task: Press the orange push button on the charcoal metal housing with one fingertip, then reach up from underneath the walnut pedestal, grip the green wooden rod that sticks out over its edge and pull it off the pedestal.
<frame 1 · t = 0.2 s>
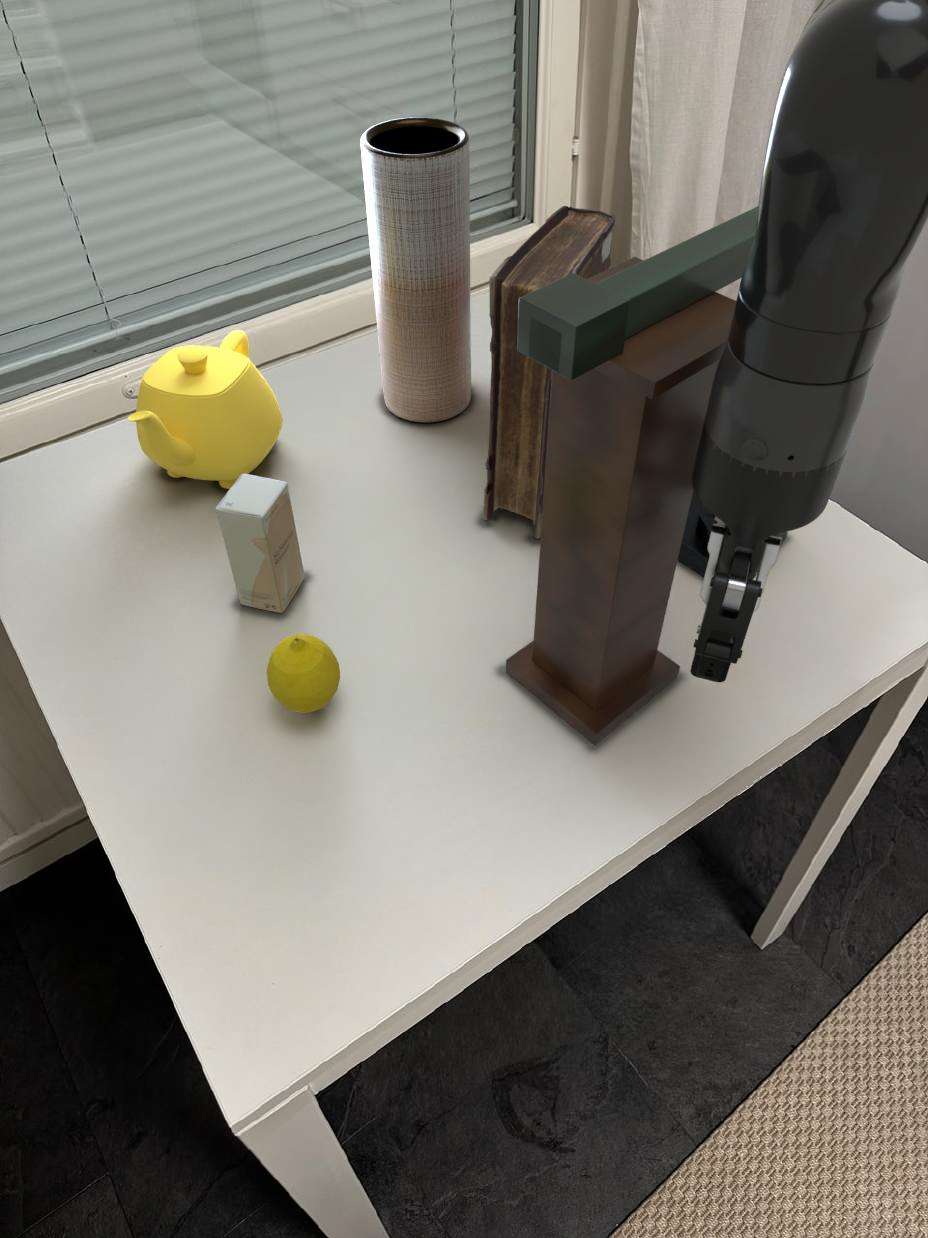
hand: (717, 628, 59), 13 cm above the table, tool pointing down, fingers open, 8 cm apart
book: (546, 486, 91), on the table
fruit: (311, 706, 72), on the table
vase: (427, 400, 101), on the table
teapot: (216, 464, 94), on the table
box: (273, 591, 81), on the table
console: (702, 530, 85), on the table
button: (742, 512, 80), point 4 cm above the table, slide at 0.1 cm
pedestal: (591, 674, 73), on the table
rod: (689, 289, 52), point 32 cm above the table, touching pedestal
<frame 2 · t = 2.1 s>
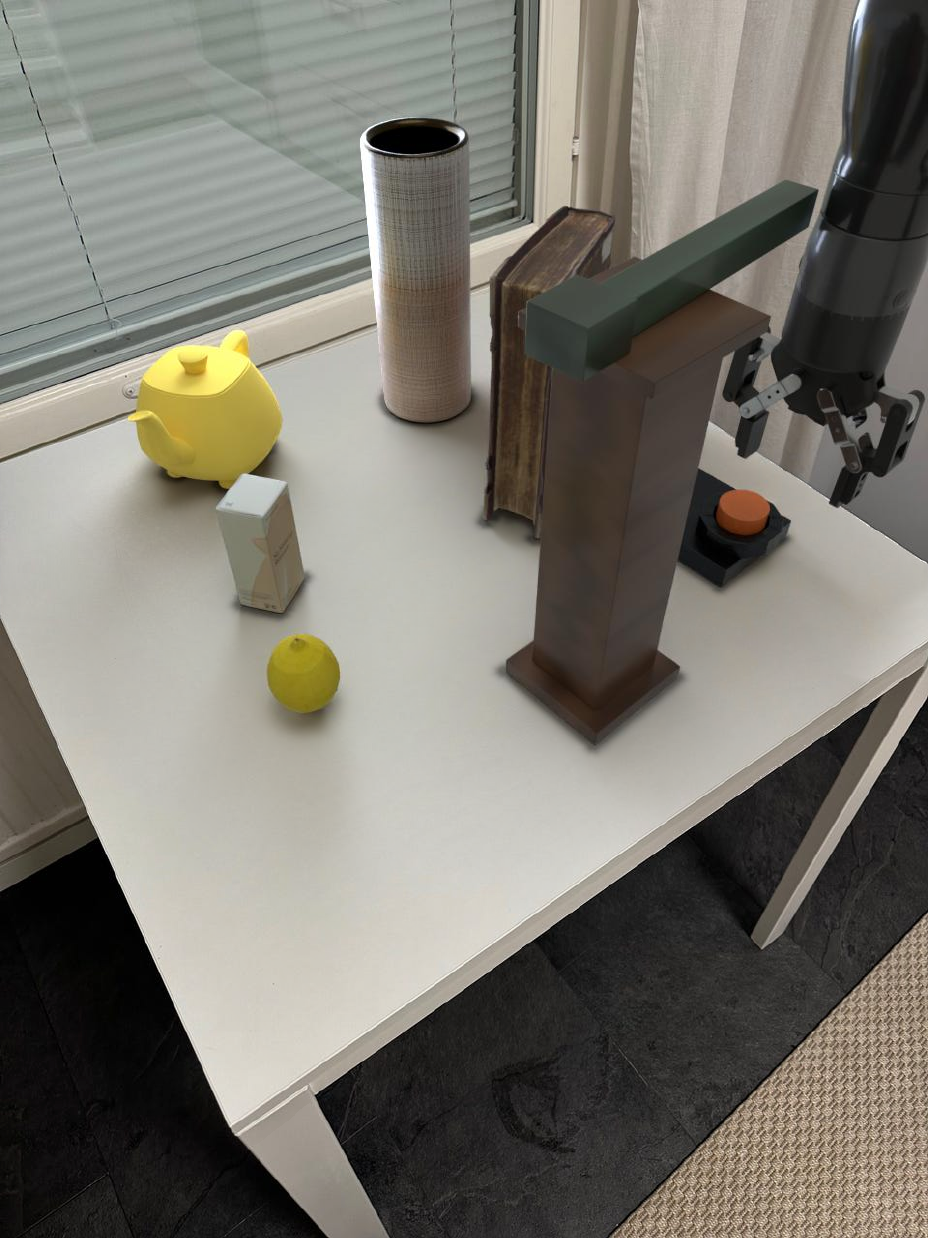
hand: (791, 476, 71), 12 cm above the table, tool pointing down, fingers open, 8 cm apart
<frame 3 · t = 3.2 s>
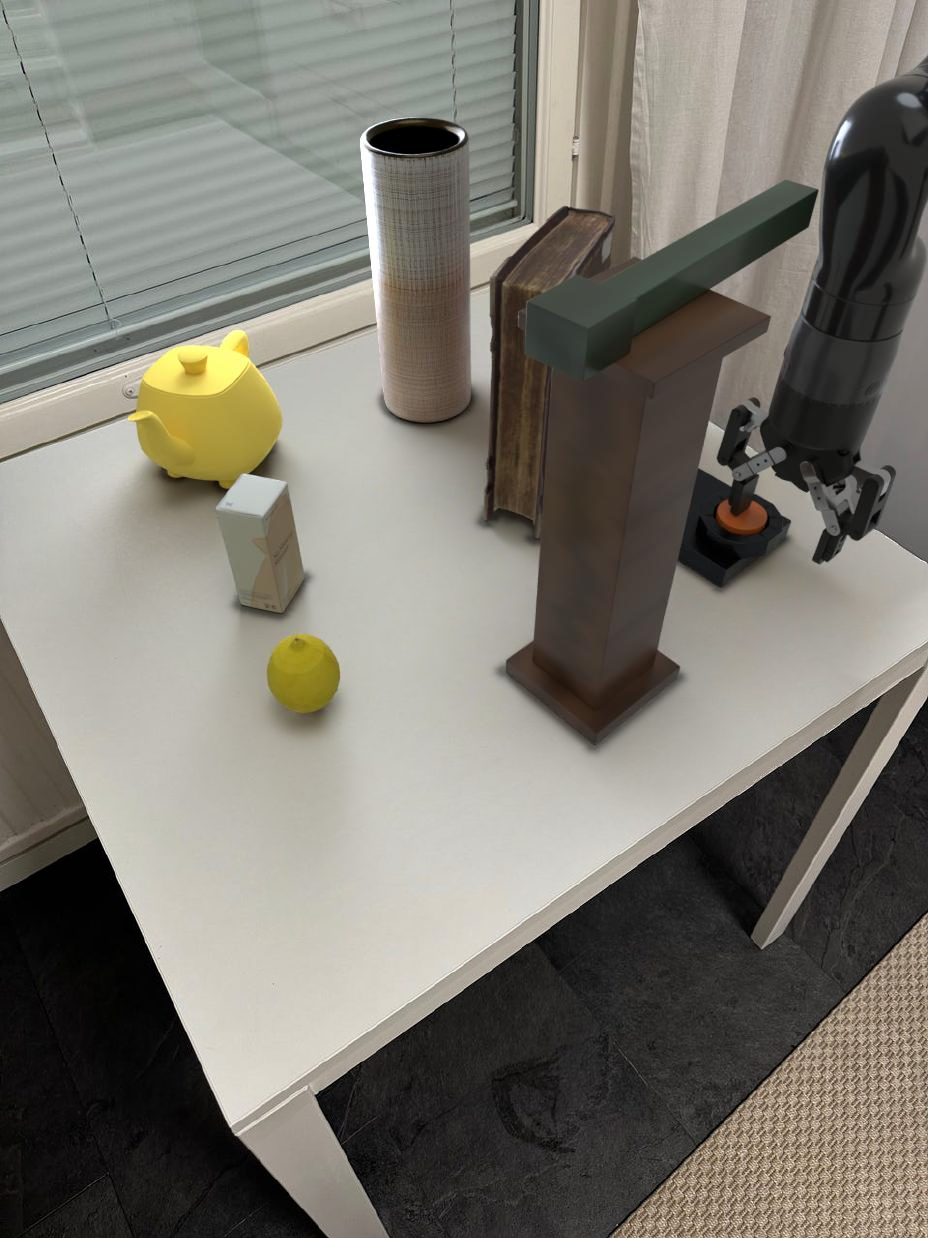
hand: (779, 533, 78), 4 cm above the table, tool pointing down, fingers open, 8 cm apart
button: (740, 520, 81), point 3 cm above the table, slide at -0.9 cm, touching gripper
everything else where it was.
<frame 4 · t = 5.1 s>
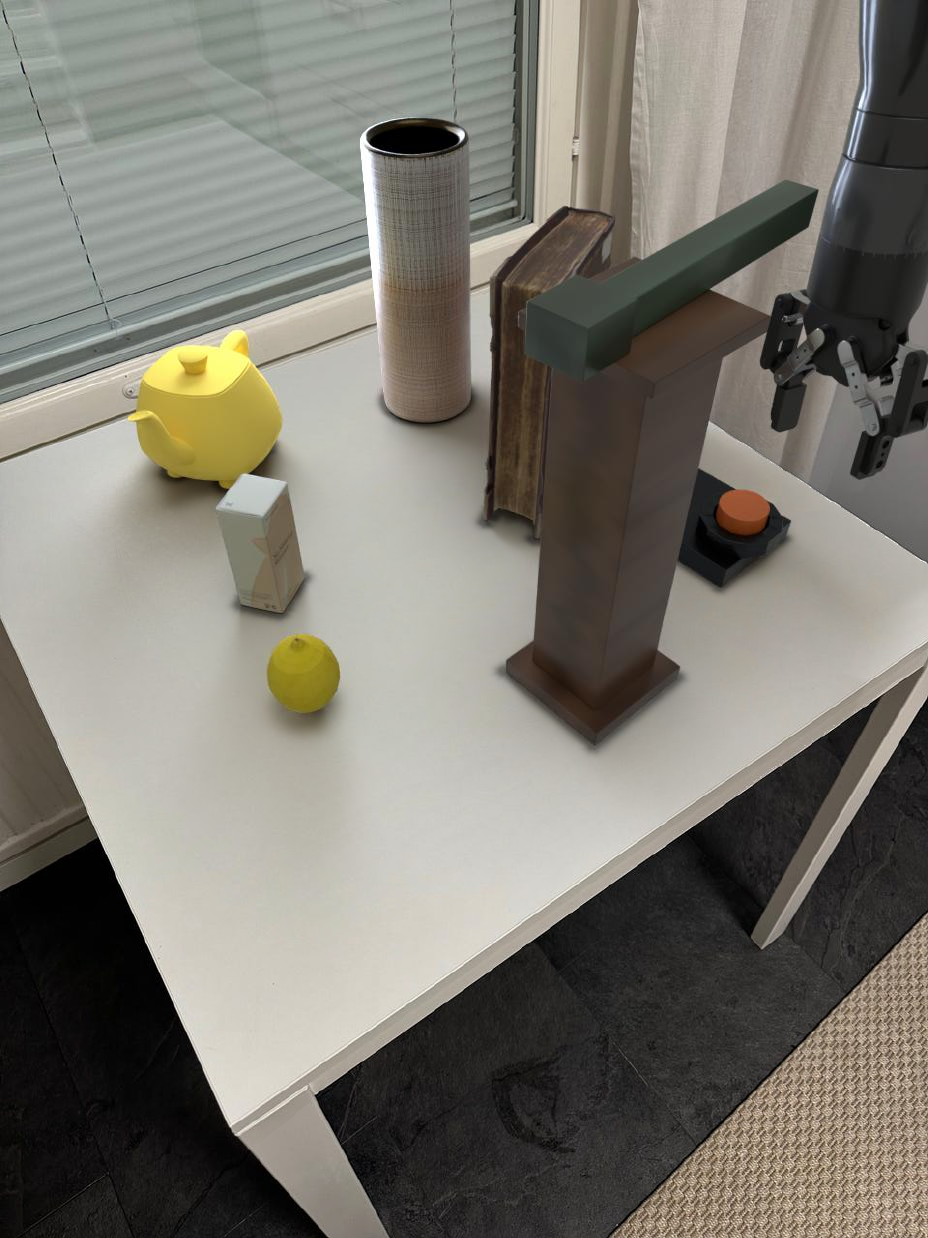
hand: (821, 451, 69), 15 cm above the table, tool pointing down, fingers open, 8 cm apart
button: (742, 512, 80), point 4 cm above the table, slide at 0.1 cm
everything else where it was.
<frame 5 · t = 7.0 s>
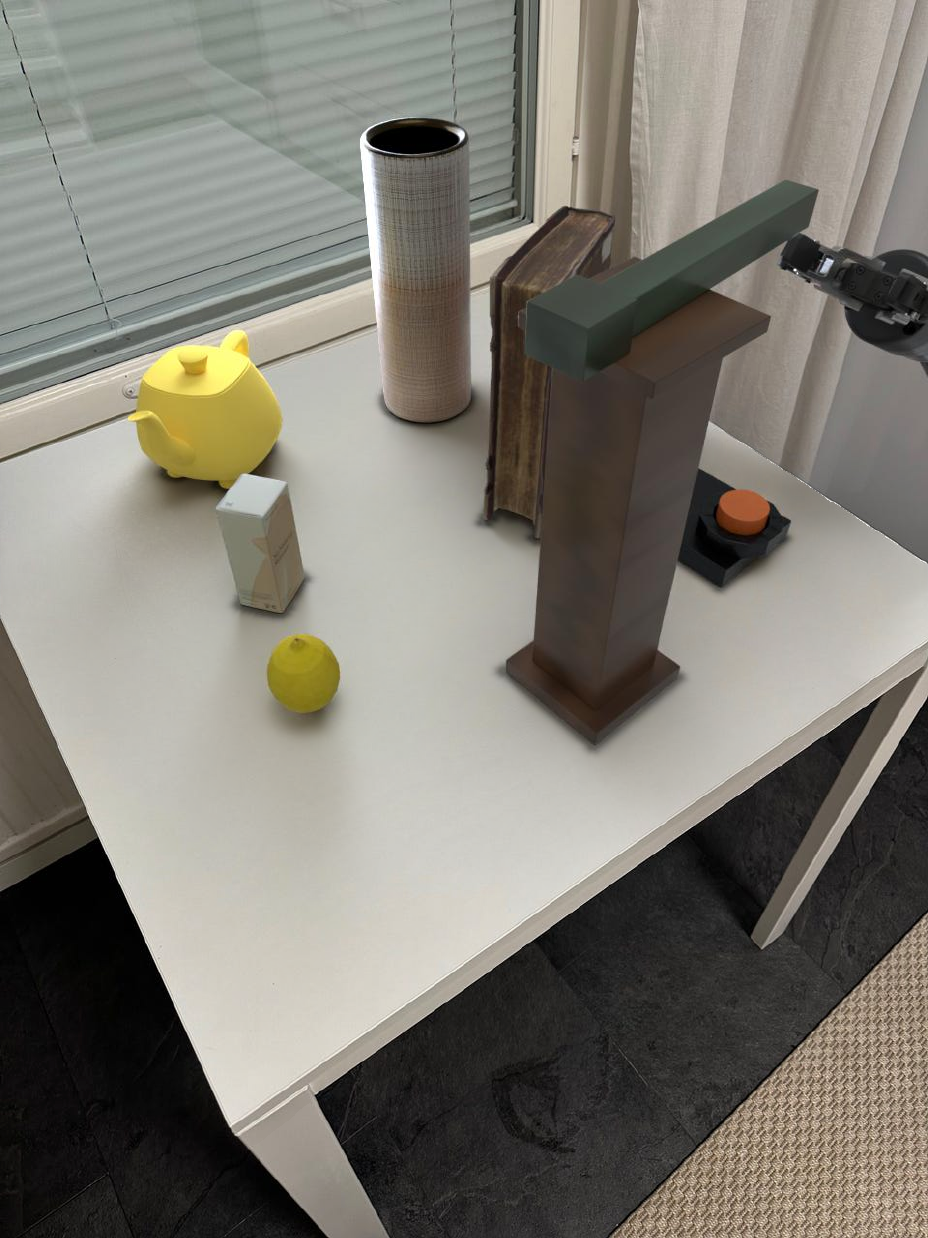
hand: (842, 266, 63), 27 cm above the table, tool pointing upward, fingers open, 8 cm apart
nothing on the table moved.
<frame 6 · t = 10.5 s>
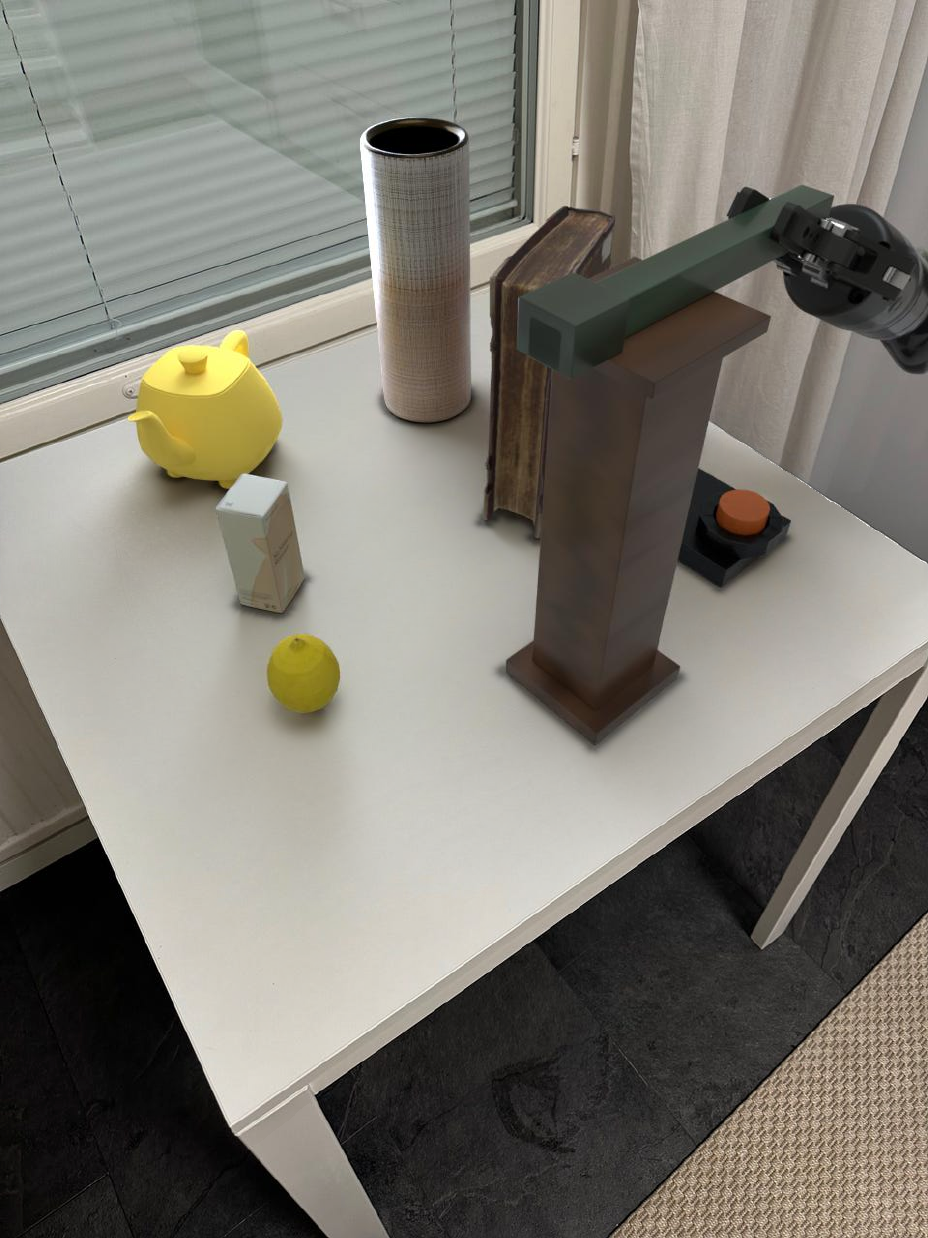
hand: (761, 213, 53), 35 cm above the table, tool pointing upward, fingers closed on rod, 2 cm apart
rod: (689, 289, 52), point 32 cm above the table, touching gripper, pedestal
everything else where it was.
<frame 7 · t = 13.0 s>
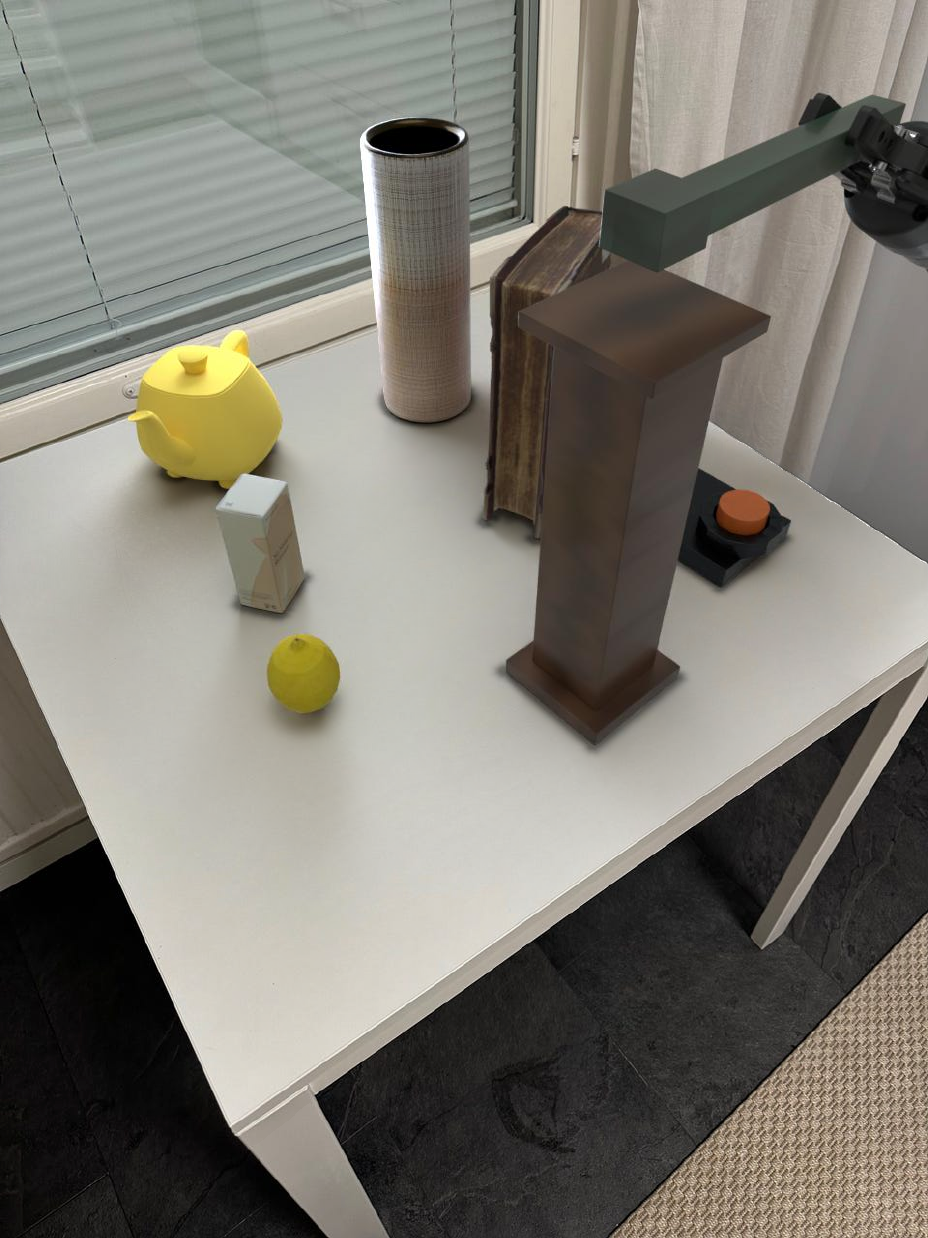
hand: (835, 118, 52), 39 cm above the table, tool pointing upward, fingers closed on rod, 2 cm apart
rod: (764, 193, 52), point 36 cm above the table, touching gripper
everything else where it was.
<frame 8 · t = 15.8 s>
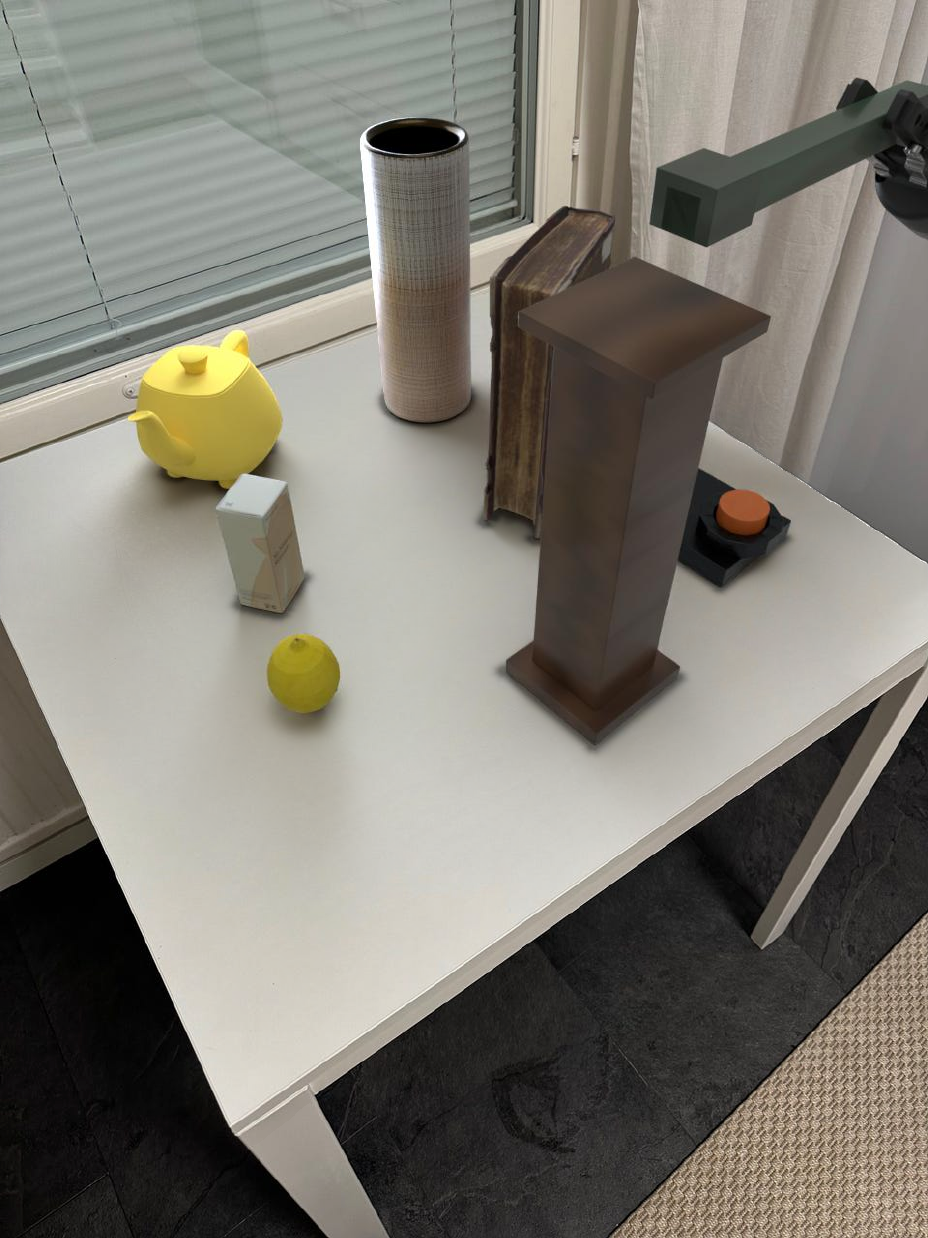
hand: (873, 101, 54), 39 cm above the table, tool pointing upward, fingers closed on rod, 2 cm apart
rod: (805, 174, 53), point 36 cm above the table, touching gripper
everything else where it was.
at the end: button pushed in 1.1 cm at the most during the clip, back to where it started at the end; rod inside the target area (0.5 cm from its centre), point 35.8 cm above the table; the gripper is holding rod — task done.
